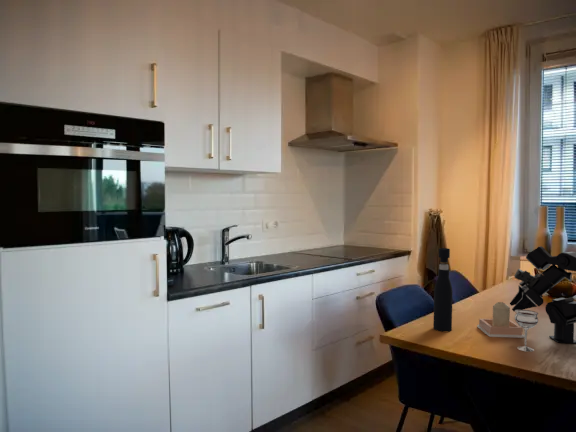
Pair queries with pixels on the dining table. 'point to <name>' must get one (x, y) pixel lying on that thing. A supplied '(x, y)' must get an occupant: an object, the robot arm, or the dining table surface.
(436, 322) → the wine bottle
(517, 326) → the pink square tray
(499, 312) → the candle
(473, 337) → the dining table surface
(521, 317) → the wineglass
